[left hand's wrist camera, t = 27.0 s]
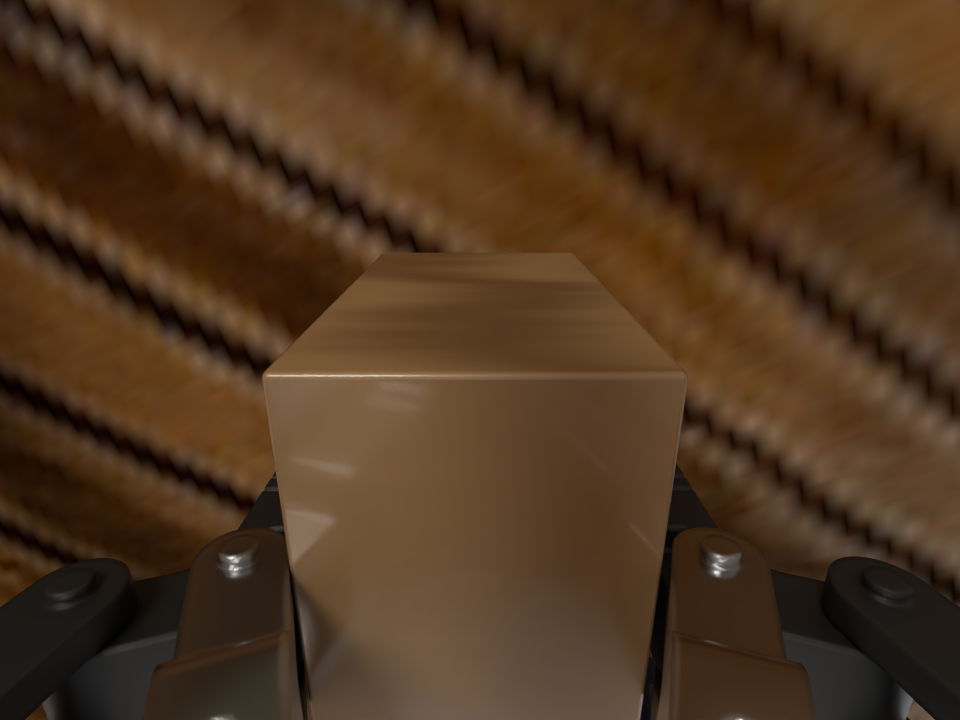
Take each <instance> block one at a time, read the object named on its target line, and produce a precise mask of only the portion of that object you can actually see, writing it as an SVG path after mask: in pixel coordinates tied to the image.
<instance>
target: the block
mask: <svg viewBox="0 0 960 720" xmlns="http://www.w3.org/2000/svg"><path fill="white" fill-rule="evenodd" d="M262 381H263V388H264V395H265V401H266V408H267V415H268V422H269V429H270V435H271V442H272V449H273V456H274V463H275V469H276V476H277V483H278V490H279V496H280V503H281V510H282V517H283V524H284V530H285V537H286V544H287V551H288V557H289V564H290V571H291V578H292V585H293V591H294V598H295V605H296V612H297V619H298V625H299V632H300V639H301V646H302V652H303V659H304V666H305V673H306V680H307V686H308V693H309V700H310V707H311V713H312V720H640V717H641V710H642V703H643V696H644V688H645V681H646V674H647V667H648V660H649V653H650V646H651V638H652V631H653V624H654V617H655V610H656V603H657V596H658V588H659V581H660V574H661V567H662V560H663V553H664V545H665V538H666V531H667V524H668V517H669V510H670V503H671V495H672V488H673V481H674V474H675V467H676V460H677V452H678V445H679V438H680V431H681V424H682V417H683V410H684V402H685V395H686V388H687V381H688V377H687V373H686V372H685V371H684V370H683V369H682V367H681V366H680V365H679V364H678V363H677V362H676V361H675V360H674V359H673V358H672V357H671V356H670V355H669V354H668V353H667V352H666V351H665V350H664V349H663V348H662V346H661V345H660V344H659V343H658V342H657V341H656V340H655V339H654V338H653V337H652V336H651V335H650V334H649V333H648V332H647V331H646V330H645V329H644V328H643V326H642V325H641V324H640V323H639V322H638V321H637V320H636V319H635V318H634V317H633V316H632V315H631V314H630V313H629V312H628V311H627V310H626V309H625V308H624V307H623V305H622V304H621V303H620V302H619V301H618V300H617V299H616V298H615V297H614V296H613V295H612V294H611V293H610V292H609V291H608V290H607V289H606V288H605V287H604V285H603V284H602V283H601V282H600V281H599V280H598V279H597V278H596V277H595V276H594V275H593V274H592V273H591V272H590V271H589V270H588V269H587V268H586V267H585V265H584V264H583V263H582V262H581V261H580V260H579V259H578V258H577V257H576V256H575V255H574V254H572V253H384V254H382V255H381V256H380V257H379V258H378V259H377V260H376V261H375V262H374V263H373V264H372V265H371V266H370V267H369V268H368V269H367V270H366V271H365V272H364V273H363V274H362V275H361V276H360V277H359V278H358V279H357V280H356V281H355V282H354V283H353V284H352V285H351V286H350V287H349V288H348V289H347V290H346V291H345V292H344V293H343V294H342V295H341V296H340V297H339V298H338V299H337V300H336V301H335V302H334V303H333V304H332V305H331V306H330V307H329V308H328V309H327V310H326V311H325V312H324V313H323V314H322V315H321V316H320V317H319V318H318V319H317V320H316V321H315V322H314V323H313V324H312V325H311V326H310V327H309V328H308V329H307V330H306V331H305V332H304V333H303V334H302V335H301V336H300V337H299V338H298V339H297V340H296V341H295V342H294V343H293V344H292V345H291V346H290V347H289V348H288V349H287V350H286V351H285V352H284V353H283V354H282V355H281V356H280V357H279V358H278V359H277V360H276V361H275V362H274V363H273V364H272V365H271V366H270V367H269V368H268V369H267V370H266V371H265V372H264V373H263V377H262Z"/></svg>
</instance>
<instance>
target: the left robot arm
mask: <svg viewBox="0 0 960 720" xmlns="http://www.w3.org/2000/svg"><path fill="white" fill-rule="evenodd" d="M650 649H651V652H652V655H653V658H654V661H655V668H654V675H653V689H652V702H651V716H650V720H910V719H909V718H908V717H907V715H908V712H909V710H910V707H911V704H912V702H913V699H914V700H915V701H916V702H917V703H918V704H919V705H920V706H921V707H922V708H923V709H924V710H925V711H927V712H928V713H929V714H930V715H931V716H932V717H933V718H934V719H935V720H960V607H959V606H957V605H956V604H954V603H953V602H952V601H950V600H949V599H947V598H946V597H945V596H943V595H942V594H941V593H939V592H938V591H936V590H935V589H934V588H932V587H931V586H929V585H928V584H927V583H925V582H924V581H922V580H921V579H919V578H918V577H916V576H915V575H913V574H911V573H909V572H907V571H906V570H903V569H901V568H899V567H897V566H894V565H892V564H889V563H886V562H883V561H880V560H876V559H871V558H866V557H844V558H840V559H837V560H836V561H834V562H833V563H832V564H831V565H830V567H829V569H828V573H827V577H826V580H825V582H824V581H819V580H815V579H810V578H805V577H801V576H796V575H792V574H787V573H783V572H779V571H775V570H772V569H770V566H769V563H768V560H767V559H766V557H765V555H764V554H763V553H762V552H761V551H760V550H759V549H758V548H757V547H756V546H755V545H754V544H752V543H751V542H749V541H748V540H746V539H744V538H742V537H740V536H738V535H736V534H734V533H731V532H728V531H725V530H721V529H718V528H717V526H716V525H715V523H714V522H713V520H712V519H711V517H710V515H709V514H708V512H707V511H706V509H705V508H704V506H703V504H702V503H701V501H700V500H699V498H698V497H697V495H696V493H695V492H694V491H692V487H691V486H690V484H689V482H688V481H687V479H686V478H684V475H683V473H682V471H681V470H680V468H679V467H678V465H677V464H676V467H675V474H674V481H673V488H672V495H671V503H670V510H669V517H668V524H667V531H666V538H665V545H664V553H663V560H662V567H661V574H660V581H659V588H658V596H657V603H656V610H655V617H654V624H653V631H652V638H651V646H650ZM41 704H42V705H43V708H44V710H45V713H46V716H47V718H48V720H310V716H309V702H308V688H307V680H306V673H305V666H304V659H303V652H302V646H301V639H300V632H299V625H298V619H297V612H296V605H295V598H294V591H293V585H292V578H291V571H290V564H289V557H288V551H287V544H286V537H285V530H284V524H283V517H282V510H281V503H280V496H279V490H278V483H277V476H276V472H275V473H274V475H273V479H270V481H269V482H268V484H267V485H266V487H265V491H263V492H262V493H261V495H260V496H259V498H258V499H257V501H256V502H255V504H254V506H253V507H252V509H251V510H250V512H249V513H248V515H247V516H246V518H245V519H244V521H243V523H242V524H241V526H240V527H239V529H238V530H235V531H232V532H229V533H226V534H224V535H222V536H220V537H218V538H216V539H214V540H212V541H211V542H209V543H208V544H206V545H205V546H204V547H203V548H202V549H201V550H200V551H199V552H198V553H197V554H196V555H195V557H194V559H193V560H192V563H191V566H190V568H189V569H186V570H184V571H180V572H176V573H173V574H168V575H164V576H159V577H154V578H150V579H145V580H140V581H136V582H132V579H131V575H130V571H129V569H128V567H127V566H126V564H125V563H123V562H121V561H119V560H115V559H109V558H98V559H90V560H85V561H80V562H77V563H74V564H70V565H68V566H65V567H62V568H60V569H58V570H56V571H54V572H51V573H50V574H48V575H46V576H44V577H42V578H41V579H39V580H38V581H36V582H35V583H33V584H32V585H31V586H29V587H28V588H26V589H25V590H24V591H22V592H21V593H19V594H18V595H17V596H15V597H14V598H13V599H11V600H10V601H8V602H7V603H6V604H4V605H3V606H1V607H0V720H25V719H26V718H27V717H28V716H29V715H30V714H31V713H32V712H33V711H35V710H36V709H37V708H38V707H39V706H40V705H41Z"/></svg>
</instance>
